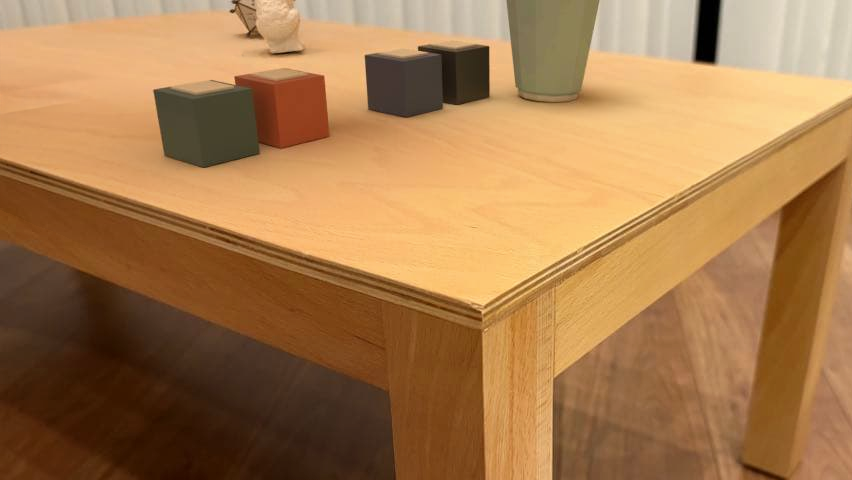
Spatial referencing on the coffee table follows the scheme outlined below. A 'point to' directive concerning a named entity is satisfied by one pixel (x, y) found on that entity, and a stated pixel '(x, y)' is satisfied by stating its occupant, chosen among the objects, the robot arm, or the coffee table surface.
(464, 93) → the block
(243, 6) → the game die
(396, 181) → the coffee table surface
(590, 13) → the disposable coffee cup
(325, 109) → the block
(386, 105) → the block
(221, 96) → the block
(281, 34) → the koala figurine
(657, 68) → the coffee table surface
